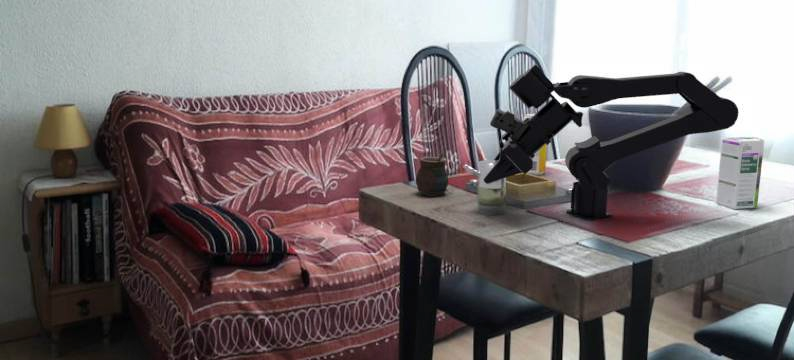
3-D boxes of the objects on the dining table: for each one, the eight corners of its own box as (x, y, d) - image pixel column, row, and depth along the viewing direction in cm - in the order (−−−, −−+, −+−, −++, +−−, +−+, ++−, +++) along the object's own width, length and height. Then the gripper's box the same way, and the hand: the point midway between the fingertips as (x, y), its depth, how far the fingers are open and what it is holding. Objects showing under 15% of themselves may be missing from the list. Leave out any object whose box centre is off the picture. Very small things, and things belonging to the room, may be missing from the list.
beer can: (543, 171, 179) (547, 113, 176) (546, 176, 173) (549, 116, 170) (520, 170, 179) (522, 113, 176) (521, 175, 173) (524, 116, 170)
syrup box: (734, 210, 142) (742, 140, 139) (714, 203, 147) (721, 135, 144) (757, 208, 143) (766, 139, 140) (736, 201, 149) (744, 135, 146)
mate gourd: (430, 188, 159) (432, 145, 156) (455, 194, 153) (457, 150, 151) (408, 193, 154) (410, 149, 151) (433, 200, 148) (435, 154, 146)
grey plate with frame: (580, 199, 149) (581, 183, 149) (523, 208, 141) (524, 192, 140) (518, 182, 166) (519, 167, 165) (465, 189, 158) (465, 174, 157)
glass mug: (504, 208, 142) (506, 160, 140) (505, 215, 136) (507, 165, 134) (462, 206, 143) (464, 159, 141) (461, 213, 137) (462, 164, 135)
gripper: (514, 91, 143) (459, 142, 147) (517, 100, 125) (454, 158, 129) (551, 130, 144) (495, 180, 147) (559, 144, 125) (495, 201, 129)
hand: (485, 178), depth 138 cm, fingers closed on glass mug, 5 cm apart
